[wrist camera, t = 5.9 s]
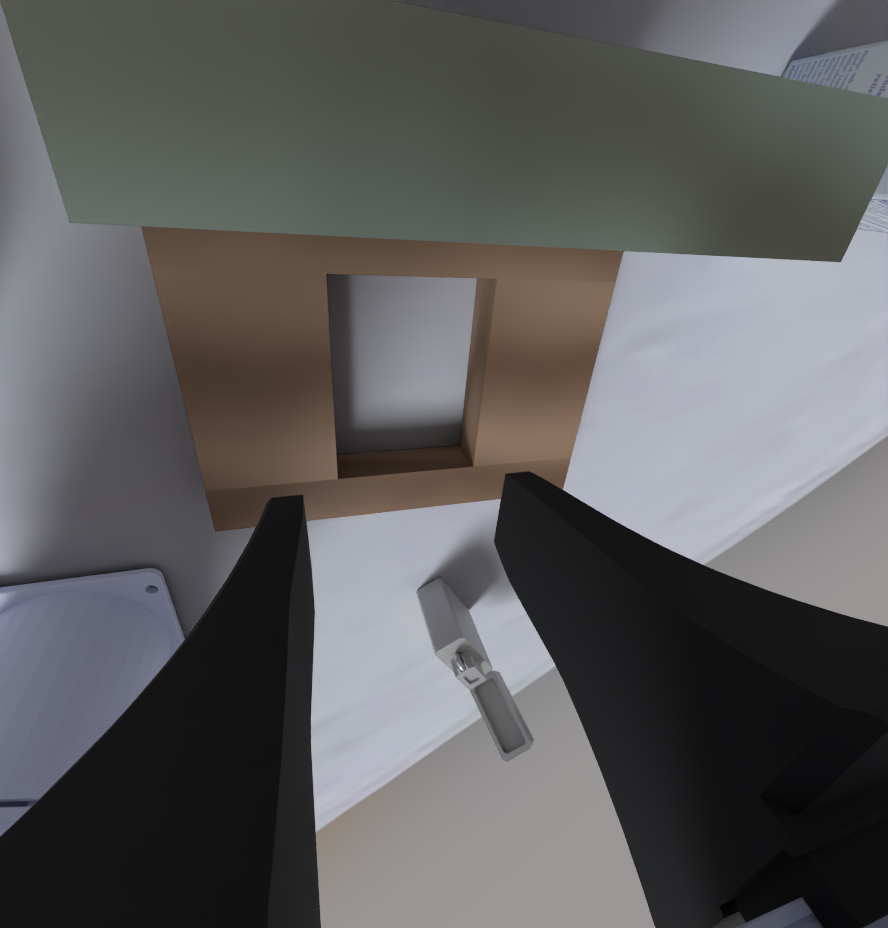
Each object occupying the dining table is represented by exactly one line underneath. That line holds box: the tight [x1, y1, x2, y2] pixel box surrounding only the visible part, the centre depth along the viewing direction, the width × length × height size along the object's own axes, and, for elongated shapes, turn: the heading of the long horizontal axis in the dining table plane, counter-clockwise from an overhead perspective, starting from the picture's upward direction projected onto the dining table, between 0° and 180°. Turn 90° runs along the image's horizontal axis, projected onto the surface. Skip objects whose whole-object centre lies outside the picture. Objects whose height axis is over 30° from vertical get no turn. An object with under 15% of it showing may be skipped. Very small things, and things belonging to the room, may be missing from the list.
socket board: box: [0, 0, 888, 531], centre depth 14 cm, size 14×16×11 cm
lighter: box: [417, 578, 534, 761], centre depth 26 cm, size 7×2×8 cm, turn 28°
